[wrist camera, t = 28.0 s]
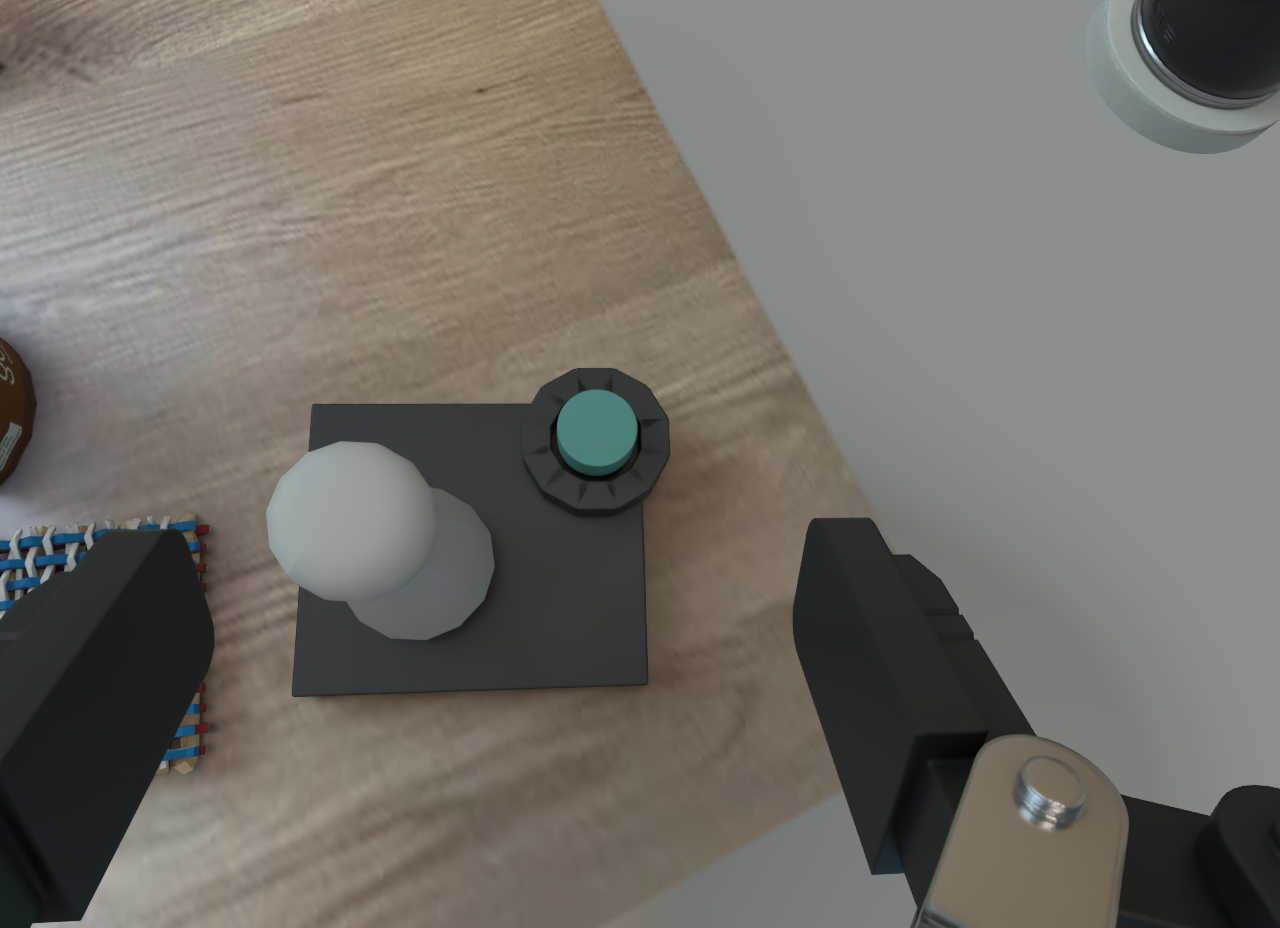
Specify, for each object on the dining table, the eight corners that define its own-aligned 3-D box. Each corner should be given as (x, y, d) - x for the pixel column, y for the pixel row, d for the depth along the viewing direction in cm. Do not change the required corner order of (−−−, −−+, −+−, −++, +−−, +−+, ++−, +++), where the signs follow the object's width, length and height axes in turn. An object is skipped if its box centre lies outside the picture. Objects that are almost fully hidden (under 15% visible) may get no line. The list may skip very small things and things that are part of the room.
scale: (657, 394, 38) (666, 367, 34) (668, 683, 35) (679, 685, 31) (325, 394, 36) (300, 366, 33) (305, 695, 33) (276, 698, 30)
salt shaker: (349, 511, 33) (216, 418, 21) (488, 490, 34) (442, 387, 21) (363, 654, 32) (230, 648, 19) (507, 629, 33) (470, 607, 20)
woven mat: (-51, 539, 33) (-90, 531, 32) (217, 513, 35) (196, 503, 33) (-72, 807, 31) (-115, 817, 29) (217, 768, 32) (194, 775, 30)
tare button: (632, 402, 34) (636, 389, 33) (635, 476, 33) (638, 466, 32) (557, 402, 34) (556, 389, 32) (557, 476, 33) (557, 467, 31)
